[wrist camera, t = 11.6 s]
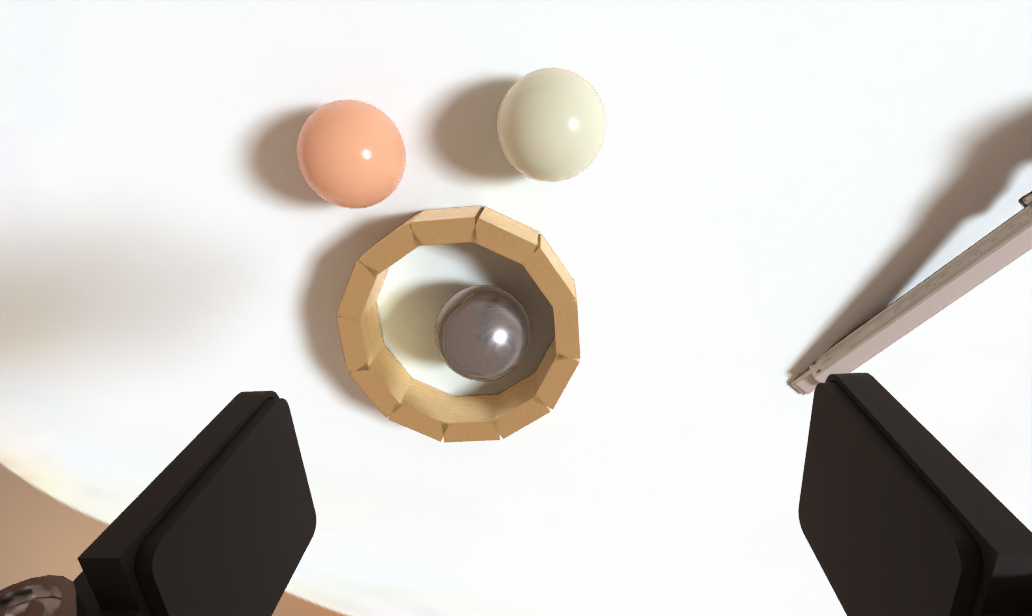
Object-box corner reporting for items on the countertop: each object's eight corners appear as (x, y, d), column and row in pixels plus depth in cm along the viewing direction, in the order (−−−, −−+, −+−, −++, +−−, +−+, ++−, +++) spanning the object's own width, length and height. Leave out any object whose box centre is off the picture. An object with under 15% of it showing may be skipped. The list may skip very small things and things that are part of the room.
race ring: (339, 216, 32) (318, 229, 29) (569, 198, 31) (571, 209, 28) (378, 418, 36) (363, 445, 33) (582, 408, 35) (584, 436, 32)
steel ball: (416, 286, 31) (448, 313, 27) (501, 266, 33) (544, 289, 29) (429, 370, 33) (461, 409, 29) (509, 347, 35) (551, 380, 30)
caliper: (1119, 82, 27) (1273, 80, 22) (1133, 97, 28) (1290, 99, 22) (787, 381, 34) (837, 442, 28) (800, 392, 34) (852, 455, 28)
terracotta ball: (311, 103, 30) (266, 106, 25) (408, 94, 29) (380, 95, 25) (330, 202, 31) (291, 222, 27) (422, 194, 31) (399, 213, 26)
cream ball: (496, 74, 29) (485, 71, 24) (599, 64, 28) (609, 59, 24) (506, 178, 30) (497, 194, 26) (603, 170, 30) (613, 184, 25)
